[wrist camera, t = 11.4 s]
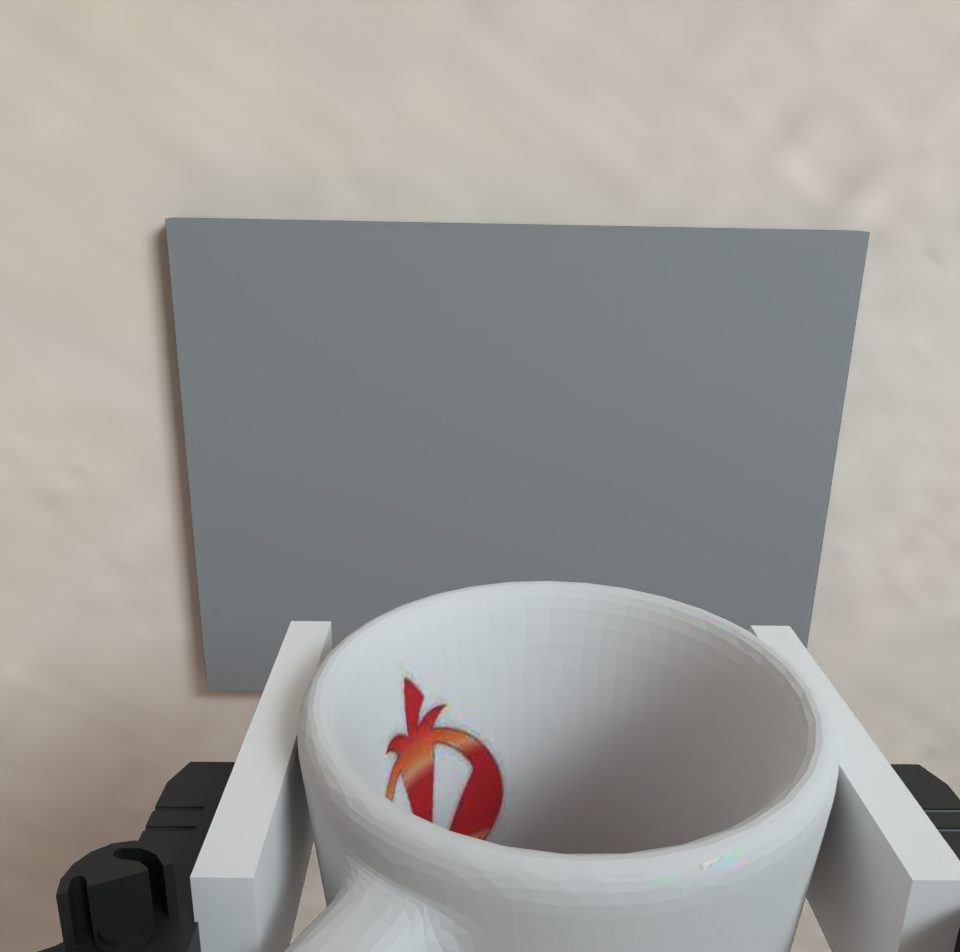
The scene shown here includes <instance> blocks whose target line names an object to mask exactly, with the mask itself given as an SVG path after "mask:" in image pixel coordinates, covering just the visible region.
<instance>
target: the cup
mask: <svg viewBox="0 0 960 952" xmlns="http://www.w3.org/2000/svg"><path fill="white" fill-rule="evenodd" d="M297 740H298V754H299V761H300V767H301V772H302V777H303V783H304V788H305V793H306V799H307V804H308V809H309V815H310V820H311V825H312V831H313V836H314V841H315V846H316V852H317V857H318V862H319V868H320V873H321V878H322V884H323V889H324V894H325V900H326V905H327V908H326V909H325V910H324V911H323V912H322V913H321V914H320V915H319V916H318V917H317V918H316V919H315V920H314V921H313V922H312V923H311V924H310V925H309V926H308V927H307V928H306V929H305V930H304V931H303V932H302V933H301V934H300V935H299V936H298V937H297V938H296V939H295V940H294V941H293V942H292V943H291V945H290V946H289V947H288V948H287V949H286V950H285V951H284V952H790V949H791V946H792V942H793V939H794V935H795V932H796V928H797V925H798V922H799V918H800V915H801V911H802V908H803V904H804V901H805V897H806V894H807V891H808V887H809V884H810V880H811V877H812V873H813V870H814V866H815V863H816V860H817V856H818V853H819V849H820V846H821V842H822V839H823V835H824V832H825V829H826V825H827V822H828V818H829V815H830V811H831V808H832V804H833V801H834V797H835V792H836V786H837V780H838V773H839V751H838V744H837V737H836V733H835V729H834V726H833V723H832V720H831V718H830V715H829V713H828V711H827V709H826V707H825V705H824V703H823V701H822V699H821V697H820V696H819V694H818V693H817V692H816V690H815V689H814V688H813V686H812V685H811V683H810V682H809V681H808V679H807V678H806V677H805V676H804V675H803V674H802V673H801V672H800V671H799V670H798V669H797V668H796V667H795V666H794V665H793V664H792V663H791V662H790V661H789V660H788V659H787V658H786V657H784V656H783V655H782V654H781V653H780V652H778V651H777V650H776V649H775V648H773V647H772V646H770V645H769V644H767V643H766V642H764V641H763V640H761V639H759V638H758V637H756V636H755V635H753V634H752V633H750V632H749V631H747V630H745V629H743V628H742V627H740V626H738V625H736V624H734V623H732V622H730V621H728V620H726V619H724V618H721V617H719V616H717V615H714V614H712V613H710V612H707V611H705V610H703V609H700V608H697V607H694V606H691V605H688V604H685V603H682V602H679V601H675V600H672V599H669V598H666V597H663V596H658V595H654V594H649V593H645V592H640V591H636V590H631V589H627V588H621V587H613V586H606V585H599V584H591V583H580V582H561V581H524V582H504V583H496V584H487V585H479V586H471V587H466V588H461V589H457V590H452V591H447V592H443V593H438V594H434V595H431V596H428V597H425V598H422V599H419V600H416V601H413V602H410V603H407V604H404V605H401V606H399V607H397V608H395V609H393V610H391V611H388V612H386V613H384V614H382V615H380V616H378V617H376V618H374V619H372V620H370V621H369V622H367V623H365V624H364V625H362V626H361V627H360V628H358V629H357V630H355V631H354V632H352V633H351V634H350V635H348V636H347V637H346V638H345V639H343V640H342V641H341V642H340V643H339V644H338V645H337V646H336V647H335V648H334V649H333V650H332V651H330V652H329V653H328V655H327V656H326V657H325V658H324V660H323V661H322V662H321V664H320V665H319V666H318V668H317V669H316V671H315V672H314V674H313V676H312V678H311V680H310V682H309V684H308V686H307V688H306V690H305V692H304V695H303V699H302V702H301V706H300V710H299V717H298V726H297Z"/></svg>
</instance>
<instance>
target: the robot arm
mask: <svg viewBox="0 0 960 952" xmlns="http://www.w3.org/2000/svg"><path fill="white" fill-rule="evenodd" d="M750 633H752V634H753V635H755V636H756V637H758V638H759V639H761V640H763V641H764V642H766V643H767V644H769V645H770V646H772V647H773V648H775V649H776V650H777V651H778V652H780V653H781V654H782V655H783V656H784V657H786V658H787V659H788V660H789V661H790V662H791V663H792V664H793V665H794V666H795V667H796V668H797V669H798V670H799V671H800V672H801V673H802V674H803V675H804V676H805V677H806V678H807V679H808V681H809V682H810V683H811V685H812V686H813V688H814V689H815V690H816V692H817V693H818V694H819V696H820V697H821V699H822V701H823V703H824V705H825V707H826V709H827V711H828V713H829V715H830V718H831V720H832V723H833V726H834V729H835V733H836V737H837V744H838V751H839V773H838V780H837V786H836V792H835V797H834V801H833V804H832V808H831V811H830V815H829V818H828V822H827V825H826V829H825V832H824V835H823V839H822V842H821V846H820V849H819V853H818V856H817V860H816V863H815V866H814V870H813V873H812V877H811V880H810V884H809V887H808V891H807V894H806V898H807V900H808V902H809V904H810V906H811V908H812V910H813V912H814V914H815V917H816V919H817V921H818V923H819V925H820V927H821V929H822V931H823V933H824V936H825V938H826V940H827V942H828V944H829V946H830V948H831V950H832V952H960V800H959V798H958V797H957V796H956V795H955V793H954V792H953V791H952V790H951V788H950V787H949V786H948V785H947V784H946V783H944V782H943V781H941V780H940V779H939V778H937V777H936V776H934V775H933V774H932V773H930V772H929V771H927V770H926V769H925V768H923V767H922V766H920V765H913V764H889V762H888V761H887V759H886V758H885V757H884V755H883V754H882V753H881V751H880V750H879V748H878V747H877V746H876V744H875V743H874V742H873V740H872V739H871V737H870V736H869V735H868V733H867V732H866V731H865V729H864V728H863V726H862V725H861V724H860V722H859V721H858V719H857V718H856V717H855V715H854V714H853V713H852V711H851V710H850V708H849V707H848V706H847V704H846V703H845V702H844V700H843V699H842V697H841V696H840V695H839V693H838V692H837V690H836V689H835V688H834V686H833V685H832V684H831V682H830V681H829V679H828V678H827V677H826V675H825V674H824V673H823V671H822V670H821V668H820V667H819V666H818V664H817V663H816V662H815V660H814V659H813V657H812V656H811V655H810V653H809V652H808V650H807V649H806V648H805V646H804V645H803V644H802V642H801V641H800V639H799V638H798V637H797V635H796V634H795V633H794V631H793V630H792V628H791V627H790V626H757V625H750ZM330 651H332V629H331V621H291V623H290V625H289V628H288V630H287V633H286V635H285V638H284V640H283V643H282V646H281V648H280V651H279V653H278V656H277V658H276V661H275V663H274V666H273V668H272V671H271V673H270V676H269V678H268V681H267V684H266V686H265V689H264V691H263V694H262V696H261V699H260V701H259V704H258V706H257V709H256V711H255V714H254V716H253V719H252V722H251V724H250V727H249V729H248V732H247V734H246V737H245V739H244V742H243V744H242V747H241V749H240V752H239V754H238V757H237V760H236V762H190V763H189V764H188V765H186V766H185V767H184V768H183V769H182V770H181V771H180V772H179V773H177V774H176V775H175V776H174V777H173V778H172V779H171V780H170V781H168V782H167V784H166V786H165V788H164V790H163V792H162V794H161V796H160V798H159V800H158V802H157V804H156V806H155V811H153V812H152V814H151V816H150V818H149V820H148V822H147V824H146V830H145V831H143V833H142V835H141V837H140V839H139V841H127V842H120V843H113V844H110V845H108V846H105V847H103V848H100V849H97V850H95V851H92V852H90V853H89V854H87V855H86V856H85V857H83V858H82V859H80V860H79V861H77V862H76V863H74V864H73V865H72V866H71V867H70V869H69V870H68V871H67V872H66V874H65V875H64V876H63V877H62V878H61V880H60V883H59V887H58V890H57V894H56V898H57V904H58V910H59V917H60V923H61V929H62V935H63V941H64V942H62V943H60V944H58V945H56V946H54V947H51V948H48V949H45V950H42V951H39V952H284V951H285V950H286V949H287V948H288V947H289V945H290V941H291V937H292V932H293V928H294V924H295V919H296V915H297V910H298V906H299V902H300V897H301V893H302V889H303V884H304V880H305V876H306V871H307V867H308V863H309V858H310V854H311V850H312V845H313V841H314V836H313V831H312V825H311V820H310V815H309V809H308V804H307V799H306V793H305V788H304V783H303V777H302V772H301V767H300V761H299V754H298V740H297V726H298V717H299V710H300V706H301V702H302V699H303V695H304V692H305V690H306V688H307V686H308V684H309V682H310V680H311V678H312V676H313V674H314V672H315V671H316V669H317V668H318V666H319V665H320V664H321V662H322V661H323V660H324V658H325V657H326V656H327V655H328V653H329V652H330Z"/></svg>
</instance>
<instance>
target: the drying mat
mask: <svg viewBox="0 0 960 952" xmlns="http://www.w3.org/2000/svg"><path fill="white" fill-rule="evenodd" d="M165 222H166V233H167V245H168V256H169V267H170V278H171V290H172V301H173V312H174V323H175V335H176V346H177V357H178V368H179V380H180V391H181V402H182V413H183V425H184V436H185V447H186V459H187V470H188V481H189V492H190V504H191V515H192V526H193V537H194V549H195V560H196V571H197V582H198V594H199V605H200V616H201V627H202V639H203V650H204V661H205V673H206V684H207V691H260V692H263V691H264V689H265V686H266V684H267V681H268V678H269V676H270V673H271V671H272V668H273V666H274V663H275V661H276V658H277V656H278V653H279V651H280V648H281V646H282V643H283V640H284V638H285V635H286V633H287V630H288V628H289V625H290V623H291V621H331V629H332V650H333V649H334V648H335V647H336V646H337V645H338V644H339V643H340V642H341V641H342V640H343V639H345V638H346V637H347V636H348V635H350V634H351V633H352V632H354V631H355V630H357V629H358V628H360V627H361V626H362V625H364V624H365V623H367V622H369V621H370V620H372V619H374V618H376V617H378V616H380V615H382V614H384V613H386V612H388V611H391V610H393V609H395V608H397V607H399V606H401V605H404V604H407V603H410V602H413V601H416V600H419V599H422V598H425V597H428V596H431V595H434V594H438V593H443V592H447V591H452V590H457V589H461V588H466V587H471V586H479V585H487V584H496V583H504V582H524V581H561V582H580V583H591V584H599V585H606V586H613V587H621V588H627V589H631V590H636V591H640V592H645V593H649V594H654V595H658V596H663V597H666V598H669V599H672V600H675V601H679V602H682V603H685V604H688V605H691V606H694V607H697V608H700V609H703V610H705V611H707V612H710V613H712V614H714V615H717V616H719V617H721V618H724V619H726V620H728V621H730V622H732V623H734V624H736V625H738V626H740V627H742V628H743V629H745V630H747V631H749V632H750V625H757V626H790V627H791V628H792V630H793V631H794V633H795V634H796V635H797V637H798V638H799V639H800V641H801V642H802V644H803V645H804V646H805V648H806V649H807V642H808V636H809V629H810V622H811V616H812V609H813V603H814V596H815V589H816V583H817V576H818V570H819V563H820V556H821V550H822V543H823V537H824V530H825V524H826V517H827V510H828V504H829V497H830V491H831V484H832V477H833V471H834V464H835V458H836V451H837V444H838V438H839V431H840V425H841V418H842V411H843V405H844V398H845V392H846V385H847V378H848V372H849V365H850V359H851V352H852V345H853V339H854V332H855V326H856V319H857V312H858V306H859V299H860V293H861V286H862V279H863V273H864V266H865V260H866V253H867V246H868V240H869V233H870V232H864V231H843V230H791V229H739V228H687V227H635V226H583V225H530V224H478V223H426V222H374V221H322V220H270V219H218V218H167V219H165Z"/></svg>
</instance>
